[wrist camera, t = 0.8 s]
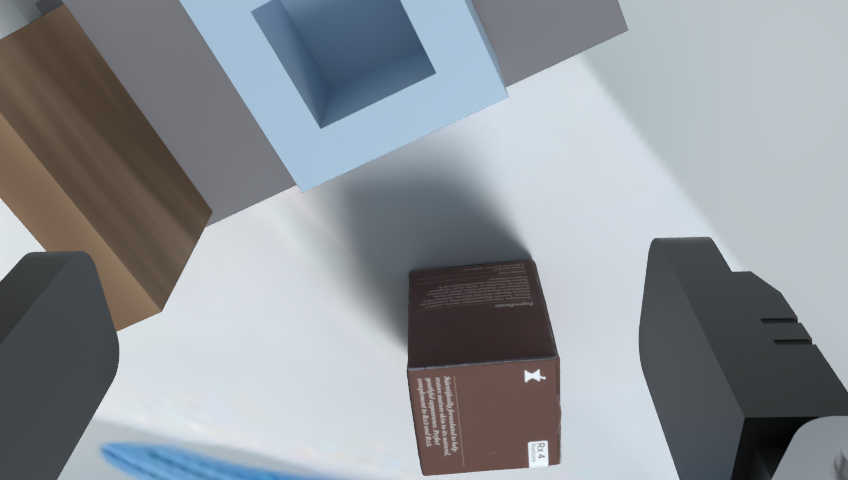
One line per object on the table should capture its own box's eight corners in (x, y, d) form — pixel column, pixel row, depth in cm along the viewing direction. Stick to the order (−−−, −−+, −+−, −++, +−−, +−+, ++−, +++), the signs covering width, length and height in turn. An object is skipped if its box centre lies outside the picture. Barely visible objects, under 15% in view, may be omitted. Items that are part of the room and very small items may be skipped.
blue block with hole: (402, -152, 26) (399, -143, 22) (495, 54, 30) (508, 97, 25) (208, -44, 28) (169, -16, 24) (318, 139, 31) (302, 192, 27)
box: (407, 266, 35) (404, 366, 29) (536, 255, 35) (562, 354, 29) (420, 367, 38) (419, 479, 32) (539, 358, 38) (562, 469, 32)
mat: (517, -275, 25) (519, -276, 25) (626, 27, 30) (628, 30, 30) (39, 1, 29) (35, 3, 29) (202, 225, 34) (200, 229, 34)
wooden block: (68, 1, 29) (-41, 62, 22) (215, 207, 34) (161, 311, 27) (28, 24, 30) (-92, 91, 23) (178, 225, 34) (115, 331, 27)
